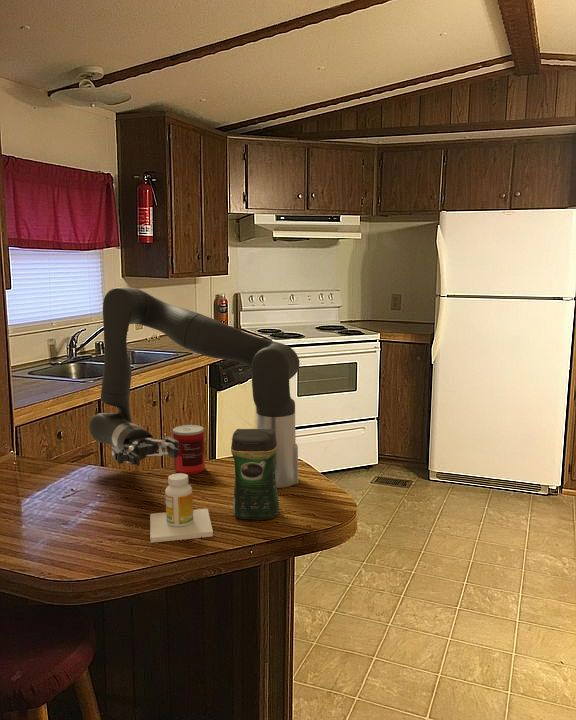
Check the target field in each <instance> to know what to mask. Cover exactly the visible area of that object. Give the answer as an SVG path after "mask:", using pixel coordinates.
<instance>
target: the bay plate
mask: <svg viewBox="0 0 576 720" xmlns="http://www.w3.org/2000/svg"><path fill="white" fill-rule="evenodd" d="M149 515H150V516H149V519H150V520H149V524H150V525H149V526H150V527H149V528H150V529H149V533H150V535H149V537H150V543H160V542H161V543H163V542H170V541H179V540H181V541H183V540H190V539H200V538H201V537H202V538H209V537H214V530H213V527H212V522H211V517H210V513H209V509H208V508H199V509H193V522H192V523H191V524H189V525H187V526H182V527H173V526H170V525H168V524H167V520H166V511H165V512H157V513H155V512H154V513H149ZM202 538H201V539H202Z"/></svg>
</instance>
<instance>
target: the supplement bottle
mask: <svg viewBox="0 0 576 720" xmlns="http://www.w3.org/2000/svg"><path fill="white" fill-rule="evenodd" d="M167 477H168V478H167V483H168V486H167V487H166V488H165V491H164V492H165V493H164V495H165V512H166V520H167V524H168V525H170V526H173V527H182V526H187V525H189V524H191V523H192V522H193V510H194V503H193V501H194V500H193V488H192V486H191V485H190V484H189V475H187V474H183V473H173V474H170V475H169V476H167Z"/></svg>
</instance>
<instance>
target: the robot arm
mask: <svg viewBox="0 0 576 720" xmlns="http://www.w3.org/2000/svg"><path fill="white" fill-rule="evenodd" d="M102 302H103V303H102V321H103V322H102V323H103V346H104V347H103V350H104V355H103V356H104V360H103V361H104V362H103V374H102V383H101V391H100V401H101V402H102V404H105V405H109V406H113V407H116V408H117V412H115V413H114V412H99V413H98V412H97V414H94V415H93V416H92V417H91V418H90V422H89V426H88V429H89V433H90V435H91V437H92V438H93V439H94V440H95V441H97V442H99V443H102V444H107V445H111V456H112V459H113V460H114V461H115V462H116V463H117V464H118V465H121V464H124V462H126V463H127V464H131V465H132V466H133V465H134V466H135V467H140V466H141V464H140V463H141V461H142V460H145V459H146V458H147V457H152V456H153V457H154V456H156V457H162V456H164V455H167V456H168V457H171V458H172V459H174V458H177V456H178V452H179V441H177V440H175V439H173V437H171V436H167V435H166V436H165V437H164V439H163V440H162V439H156V438H154V437H153V435H152V434H151V433H150V432H149V431H148V430H146V429H144V428H143V427H142V426H139V424H135V423H133V421H132V416H131V409H130V391H131V384H132V383H131V382H132V366H131V361H130V357H129V354H128V353H129V352H128V346H127V343H128V342H127V339H128V338H127V337H128V332H129V326H130V325H140V326H145V327H147V328H149V329H150V328H151V329H153V330H157V331H159V332H161V333H163V335H165V336H167V337H168V338H169V339H171V341H173V343H175V344H177V345H178V346H180V347H182V348H183V349H186V350H189V351H192V352H193V353H196V354H199V355H201V356H204V357H208V358H214V359H218V360H225V361H226V360H227V361H232V362H233V361H234V362H238V363H242V364H245V365H248V366H250V367H251V370H250V371H251V388H252V399H253V402H254V406H255V409H256V429H273V430H274V432H275V436H276V442H277V452H276V455H275V458H274V466H275V478H276V486H277V489H283V488H288V487H291V486H293V485H299V448H298V443H296V440H297V438H296V436H297V435H296V402H295V400H294V399H293V398H292V397H291V391H290V390H291V388H290V379H292V378H293V377H294V376H296V374H297V373H298V372H299V369H300V364H301V363H300V358H299V356H298V354H297V353H296V351H295V350H294V349H293V348H292V347H291V346H288V345H286V344H285V343H281V342H277V341H274V340H270V339H265V338H262V337H259V336H255V335H252V334H249V333H247V332H244V331H243V330H240V329H237V328H236V327H233V326H231V325H228V324H226V323H224V322H221V321H219V320H218V319H214V318H211V317H210V316H207V315H205V314H202V313H198V312H195V311H193V310H189V309H186V308H183V307H180V306H175V305H172V304H169V303H167V302H165V301H163V300H161V299H159V298H157V297H154V296H153V295H151V294H150V293H148V292H146V291H144V290H141V289H139V288H136V287H124V286H123V287H122V286H118V287H114V288H111V289H110V290H108V291H107V292H106V294H105V295H104V298H103V301H102Z"/></svg>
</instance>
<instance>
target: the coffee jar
mask: <svg viewBox="0 0 576 720" xmlns="http://www.w3.org/2000/svg"><path fill="white" fill-rule="evenodd" d="M230 452H231V455H232V457H233V462H234V489H233V490H234V492H233V515H234V516H235V517H236V518H238V519H241V520H271V519H272V518H275V517H276V516H277V515H278V513H279V511H280V505H279V494H278V488H277V486H276V478H275V466H274V458H275V455H276V452H277V442H276V436H275V432H274V430H273V429H257V428H236V430H235V431H234V432H233V434H232V437H231V446H230Z"/></svg>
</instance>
